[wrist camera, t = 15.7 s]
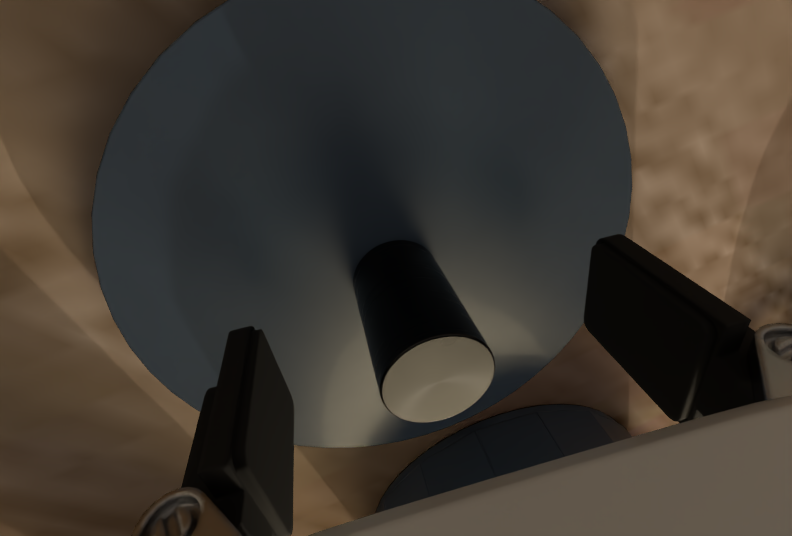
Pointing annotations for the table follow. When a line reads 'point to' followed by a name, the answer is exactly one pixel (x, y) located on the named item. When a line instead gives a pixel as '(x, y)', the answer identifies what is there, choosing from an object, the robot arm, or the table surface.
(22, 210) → the table surface
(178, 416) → the table surface
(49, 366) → the table surface
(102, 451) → the table surface
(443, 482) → the pot
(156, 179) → the pot lid
